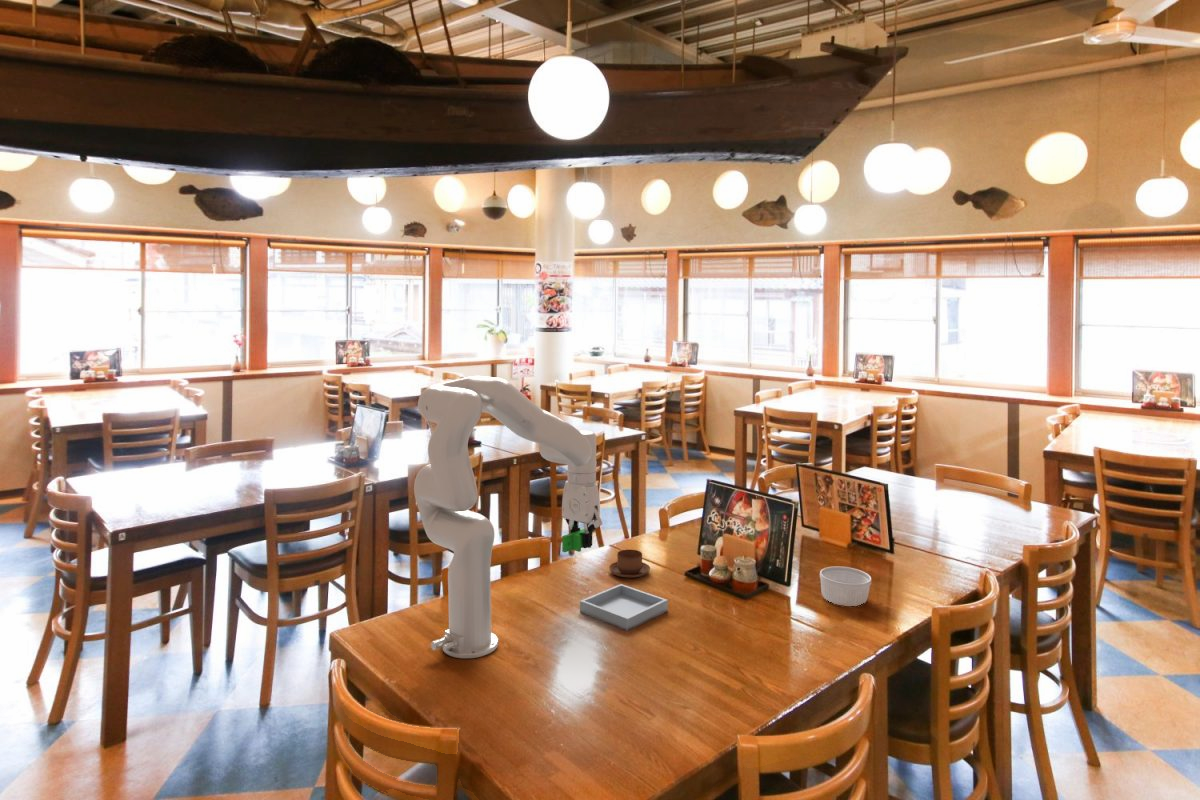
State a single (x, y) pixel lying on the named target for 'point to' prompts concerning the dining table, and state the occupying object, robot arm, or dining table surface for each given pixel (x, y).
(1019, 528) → the dining table surface
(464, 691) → the dining table surface
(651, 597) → the tray
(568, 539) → the green branched block
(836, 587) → the ramekin
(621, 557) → the cup and saucer
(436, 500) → the robot arm
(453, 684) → the dining table surface
